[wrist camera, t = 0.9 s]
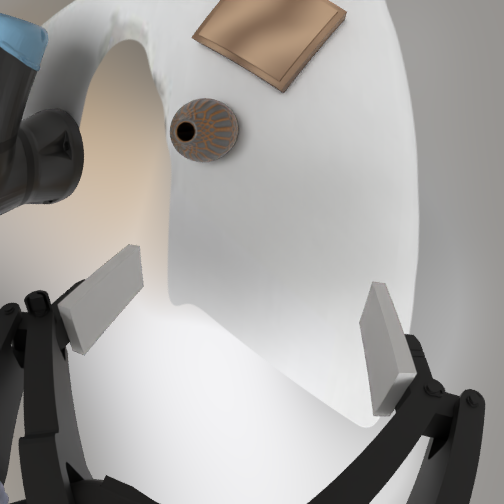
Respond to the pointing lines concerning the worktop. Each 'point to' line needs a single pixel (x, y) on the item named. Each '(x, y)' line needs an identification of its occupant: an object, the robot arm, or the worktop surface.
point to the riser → (270, 34)
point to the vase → (204, 130)
